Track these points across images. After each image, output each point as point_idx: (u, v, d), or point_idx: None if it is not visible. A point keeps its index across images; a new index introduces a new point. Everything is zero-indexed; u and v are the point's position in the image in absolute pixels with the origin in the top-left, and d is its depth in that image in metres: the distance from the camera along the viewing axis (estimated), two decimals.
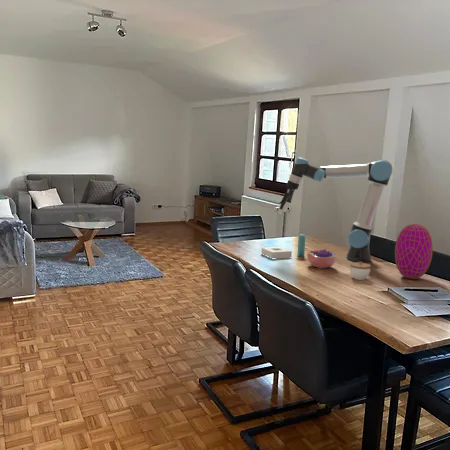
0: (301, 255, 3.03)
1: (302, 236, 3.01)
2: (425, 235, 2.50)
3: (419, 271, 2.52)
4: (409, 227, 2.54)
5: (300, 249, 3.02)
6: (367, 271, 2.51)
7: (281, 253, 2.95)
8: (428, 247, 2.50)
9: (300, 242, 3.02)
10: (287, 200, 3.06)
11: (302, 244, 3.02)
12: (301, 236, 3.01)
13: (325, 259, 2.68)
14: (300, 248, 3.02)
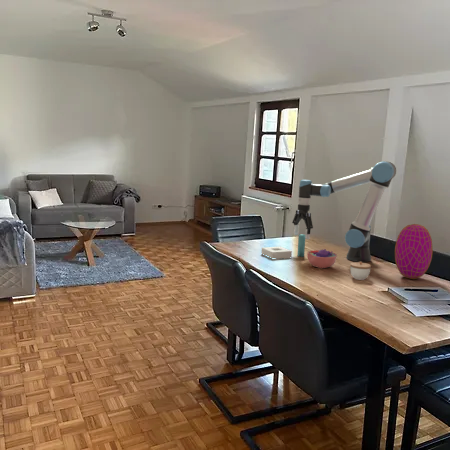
0: (301, 255, 3.03)
1: (302, 236, 3.01)
2: (425, 235, 2.50)
3: (419, 271, 2.52)
4: (409, 227, 2.54)
5: (300, 249, 3.02)
6: (367, 271, 2.51)
7: (281, 253, 2.95)
8: (428, 247, 2.50)
9: (300, 242, 3.02)
10: None
11: (302, 244, 3.02)
12: (301, 236, 3.01)
13: (325, 259, 2.68)
14: (300, 248, 3.02)
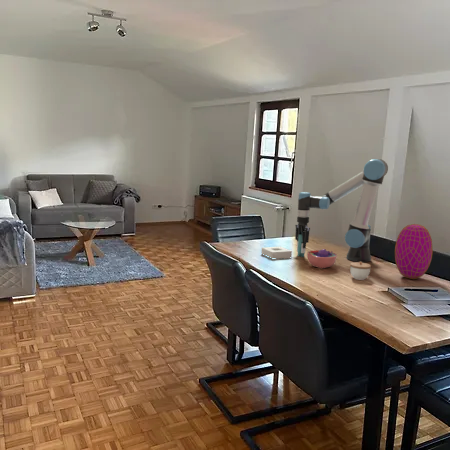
0: (301, 255, 3.03)
1: None
2: (425, 235, 2.50)
3: (419, 271, 2.52)
4: (409, 227, 2.54)
5: (300, 249, 3.02)
6: (367, 271, 2.51)
7: (281, 253, 2.95)
8: (428, 247, 2.50)
9: (300, 242, 3.02)
10: None
11: None
12: (301, 236, 3.01)
13: (325, 259, 2.68)
14: (300, 248, 3.02)
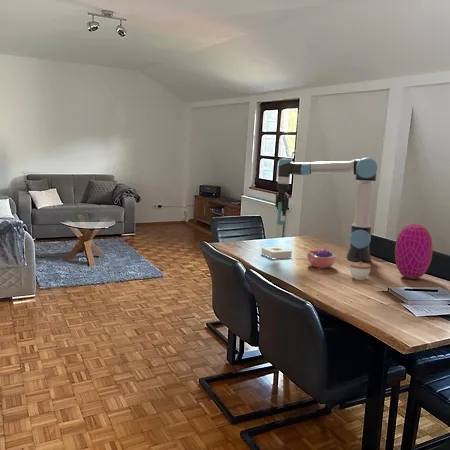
0: (281, 223, 2.97)
1: None
2: (425, 235, 2.50)
3: (419, 271, 2.52)
4: (409, 227, 2.54)
5: (280, 217, 2.96)
6: (367, 271, 2.51)
7: (281, 253, 2.95)
8: (428, 247, 2.50)
9: (280, 209, 2.96)
10: None
11: None
12: (281, 203, 2.95)
13: (325, 259, 2.68)
14: (279, 216, 2.97)
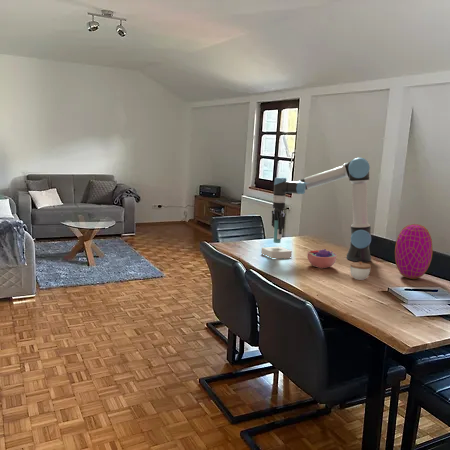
0: (277, 241, 2.98)
1: None
2: (425, 235, 2.50)
3: (419, 271, 2.52)
4: (409, 227, 2.54)
5: (276, 235, 2.98)
6: (367, 271, 2.51)
7: (281, 253, 2.95)
8: (428, 247, 2.50)
9: (276, 228, 2.97)
10: None
11: None
12: (277, 222, 2.96)
13: (325, 259, 2.68)
14: (276, 234, 2.98)
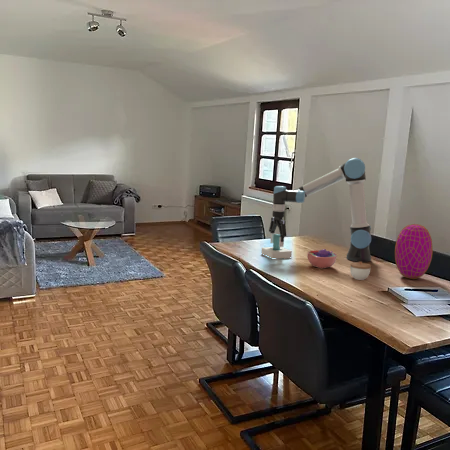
0: None
1: (277, 236, 2.98)
2: (425, 235, 2.50)
3: (419, 271, 2.52)
4: (409, 227, 2.54)
5: (275, 249, 2.99)
6: (367, 271, 2.51)
7: (281, 253, 2.95)
8: (428, 247, 2.50)
9: (275, 242, 2.99)
10: (271, 231, 3.05)
11: (277, 244, 2.99)
12: (276, 236, 2.98)
13: (325, 259, 2.68)
14: (275, 248, 3.00)
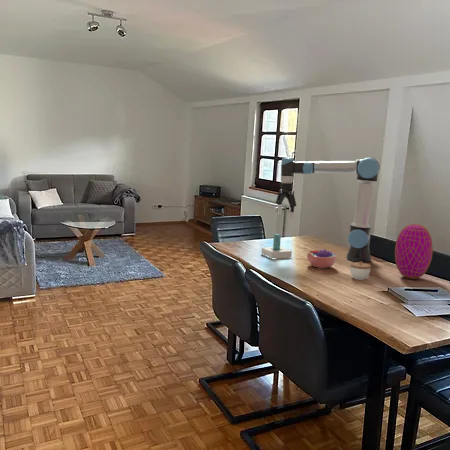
0: None
1: (277, 236, 2.98)
2: (425, 235, 2.50)
3: (419, 271, 2.52)
4: (409, 227, 2.54)
5: (275, 249, 2.99)
6: (367, 271, 2.51)
7: (281, 253, 2.95)
8: (428, 247, 2.50)
9: (275, 242, 2.99)
10: (278, 203, 3.06)
11: (277, 244, 2.99)
12: (276, 236, 2.98)
13: (325, 259, 2.68)
14: (275, 248, 2.99)
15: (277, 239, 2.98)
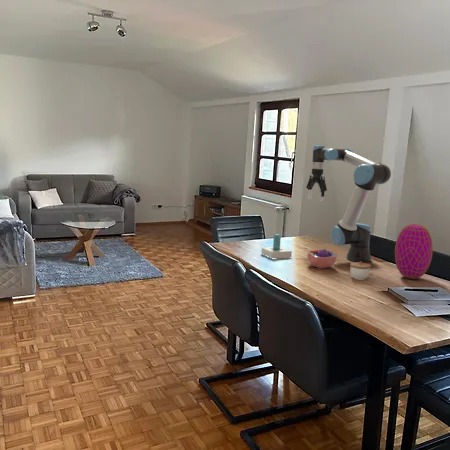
0: None
1: (277, 236, 2.98)
2: (425, 235, 2.50)
3: (419, 271, 2.52)
4: (409, 227, 2.54)
5: (275, 249, 2.99)
6: (367, 271, 2.51)
7: (281, 253, 2.95)
8: (428, 247, 2.50)
9: (275, 242, 2.99)
10: (309, 188, 3.22)
11: (277, 244, 2.99)
12: (276, 236, 2.98)
13: (325, 259, 2.68)
14: (275, 248, 2.99)
15: (277, 239, 2.98)
